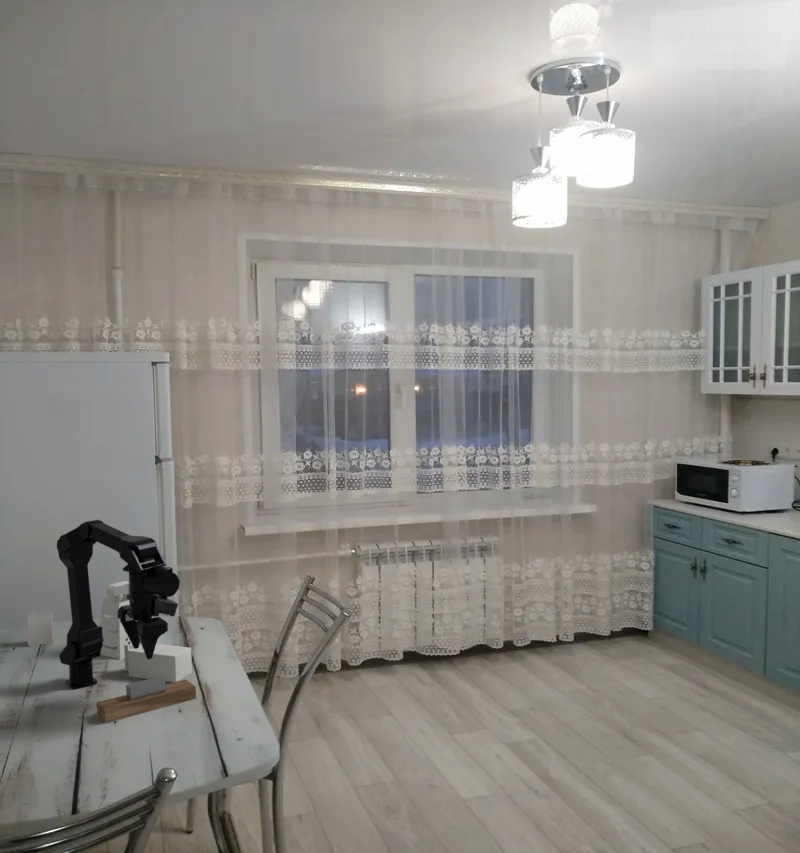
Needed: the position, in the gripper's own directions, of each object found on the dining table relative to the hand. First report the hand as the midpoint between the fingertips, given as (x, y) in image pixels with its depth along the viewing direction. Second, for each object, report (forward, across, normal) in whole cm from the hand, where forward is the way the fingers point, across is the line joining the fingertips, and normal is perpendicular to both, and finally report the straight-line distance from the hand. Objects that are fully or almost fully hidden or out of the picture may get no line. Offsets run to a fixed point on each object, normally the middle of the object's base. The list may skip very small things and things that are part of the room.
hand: (142, 653), depth 191 cm
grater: (+13, +41, -8) cm, 43 cm away
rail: (+12, -3, 0) cm, 12 cm away
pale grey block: (+13, +64, +9) cm, 66 cm away
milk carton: (+8, +8, -14) cm, 18 cm away
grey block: (+12, -3, +1) cm, 12 cm away
